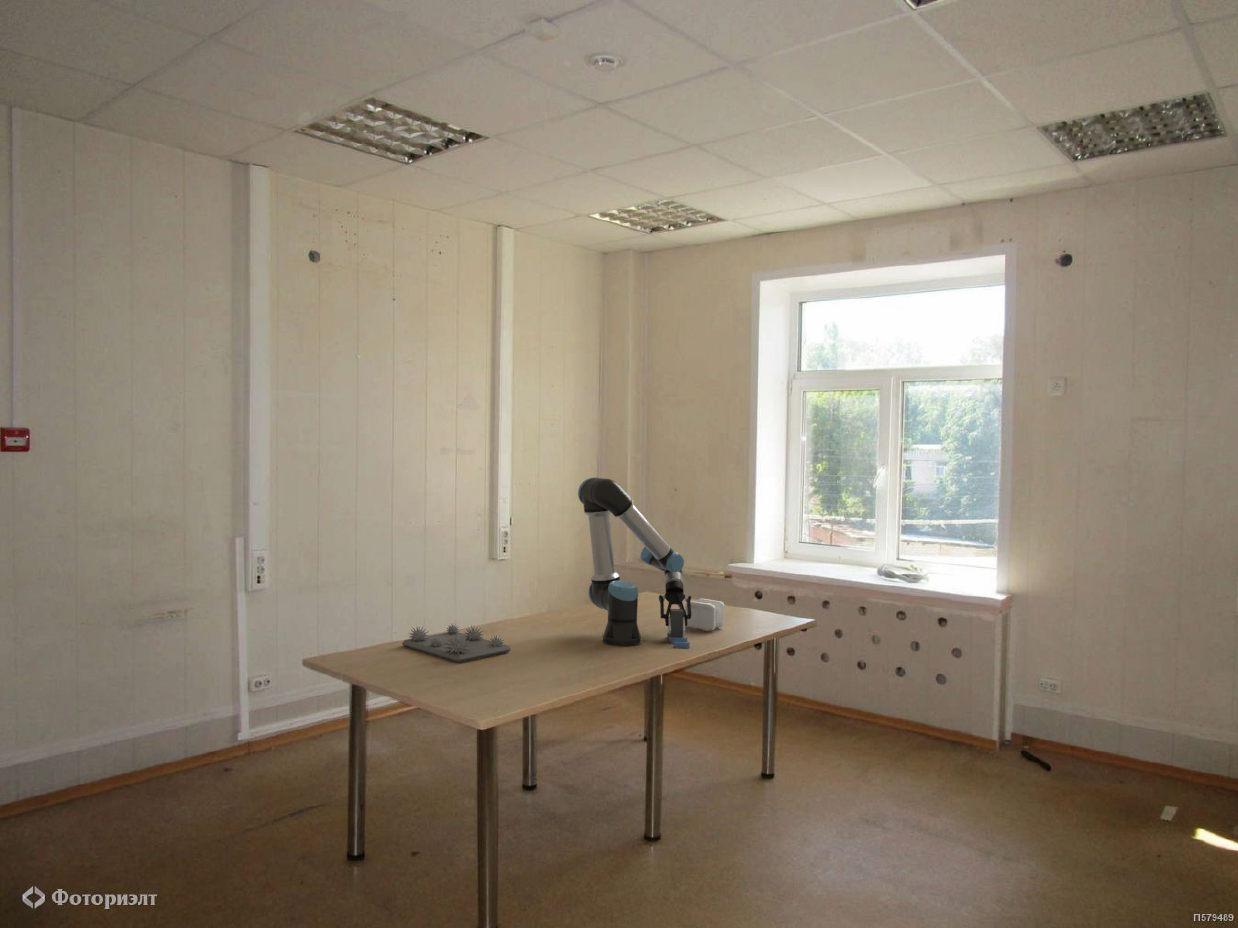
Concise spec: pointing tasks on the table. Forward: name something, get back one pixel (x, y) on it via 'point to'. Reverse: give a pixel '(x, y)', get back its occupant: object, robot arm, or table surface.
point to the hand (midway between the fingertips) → (676, 632)
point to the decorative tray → (456, 644)
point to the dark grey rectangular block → (676, 622)
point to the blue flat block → (680, 642)
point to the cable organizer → (706, 614)
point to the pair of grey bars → (671, 637)
